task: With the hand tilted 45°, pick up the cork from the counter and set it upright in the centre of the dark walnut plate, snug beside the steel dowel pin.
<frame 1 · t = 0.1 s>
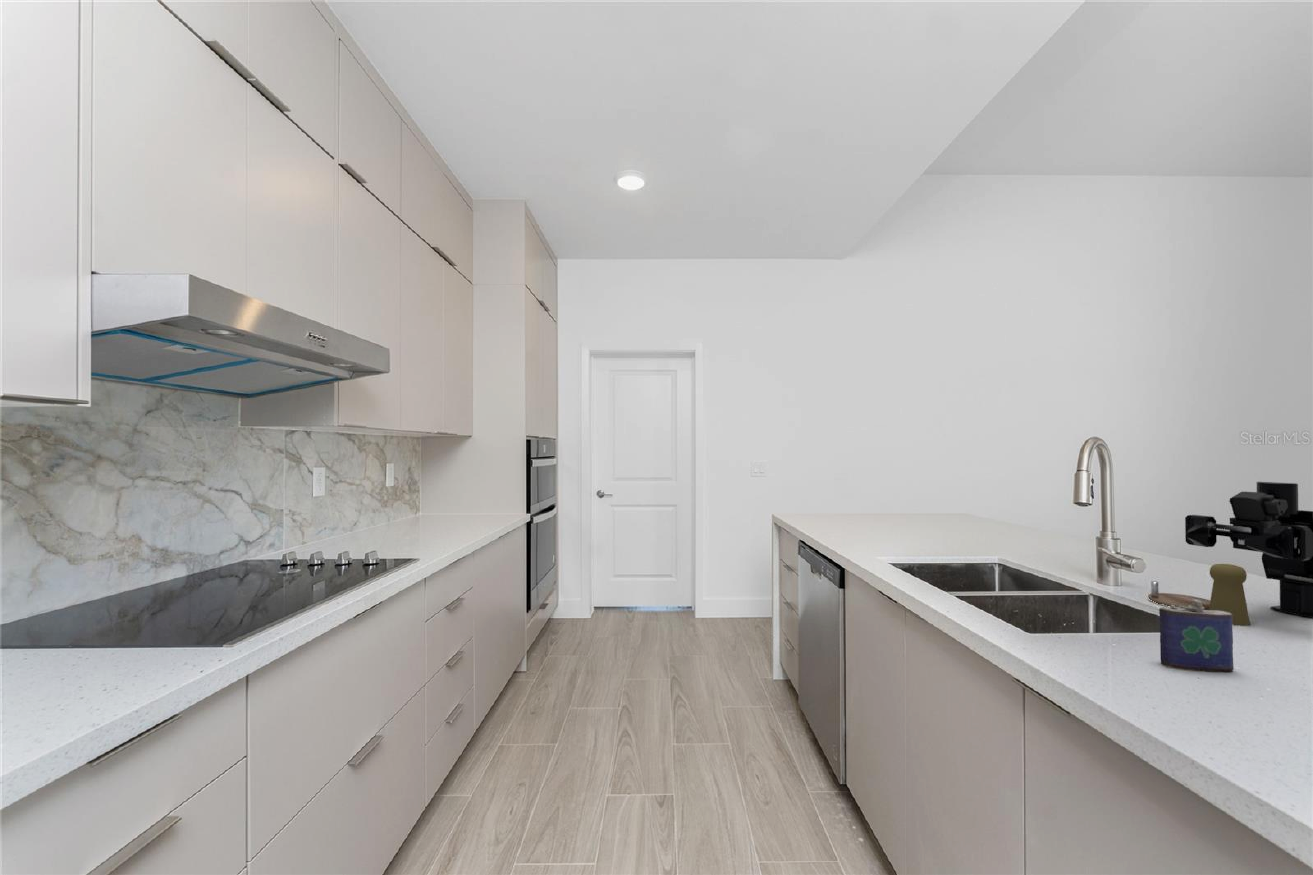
hand: (1215, 538, 111), 17 cm above the worktop, tool horizontal, fingers open, 9 cm apart
flask: (1196, 669, 91), on the worktop
cork: (1228, 621, 114), on the worktop
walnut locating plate: (1181, 603, 126), on the worktop
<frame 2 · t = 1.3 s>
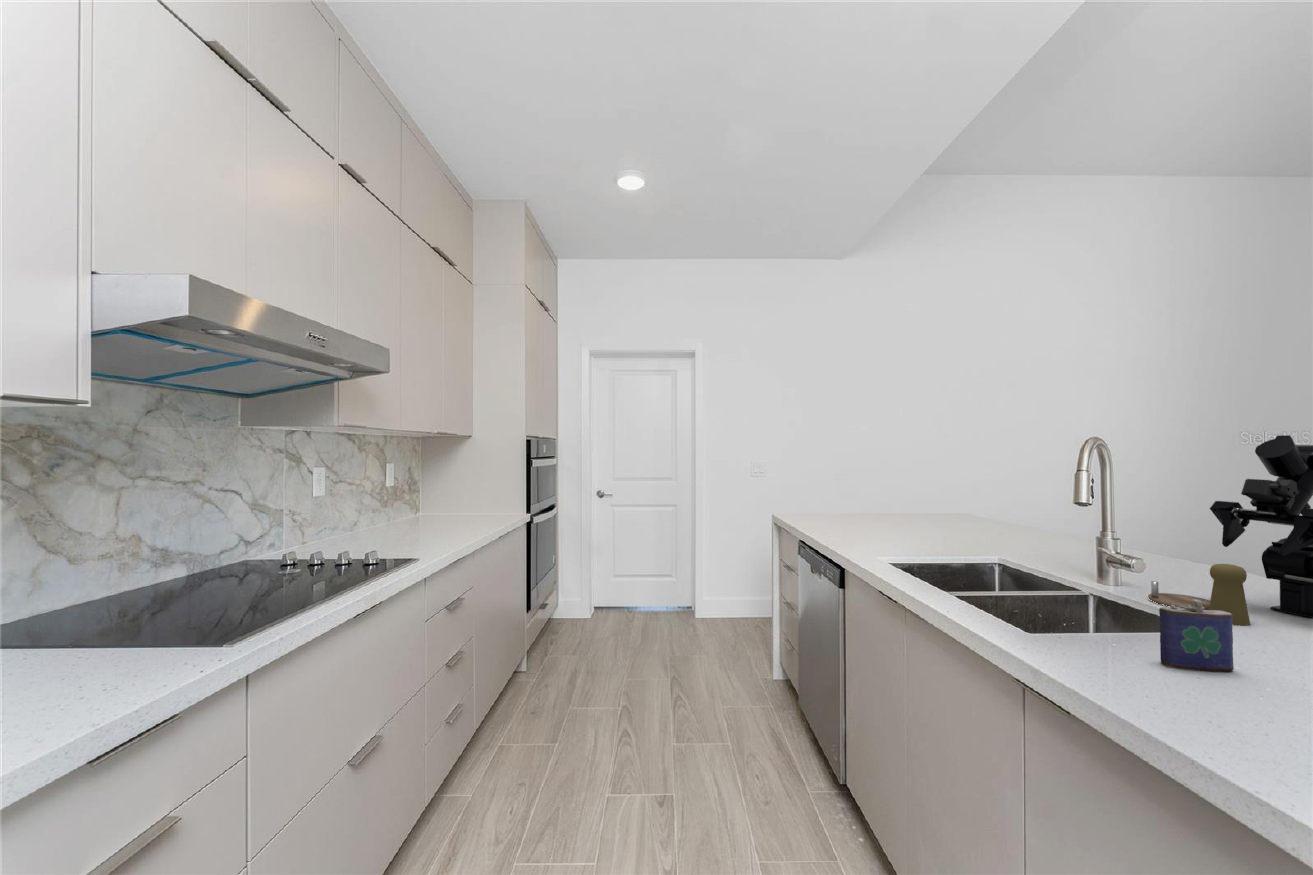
hand: (1251, 549, 115), 14 cm above the worktop, tool tilted 45°, fingers open, 9 cm apart
nothing on the worktop moved.
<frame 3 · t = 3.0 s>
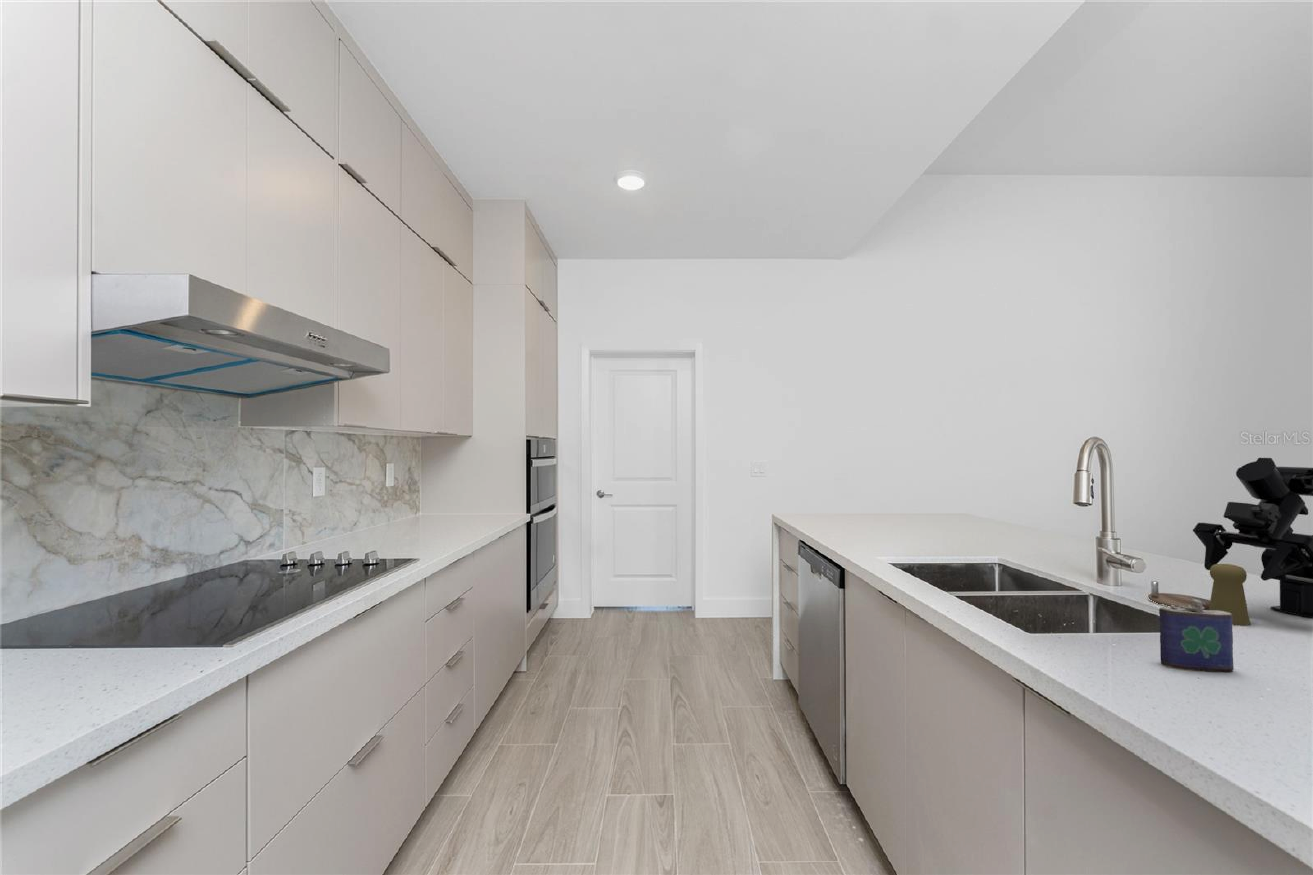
hand: (1233, 573, 114), 9 cm above the worktop, tool tilted 45°, fingers open, 9 cm apart
nothing on the worktop moved.
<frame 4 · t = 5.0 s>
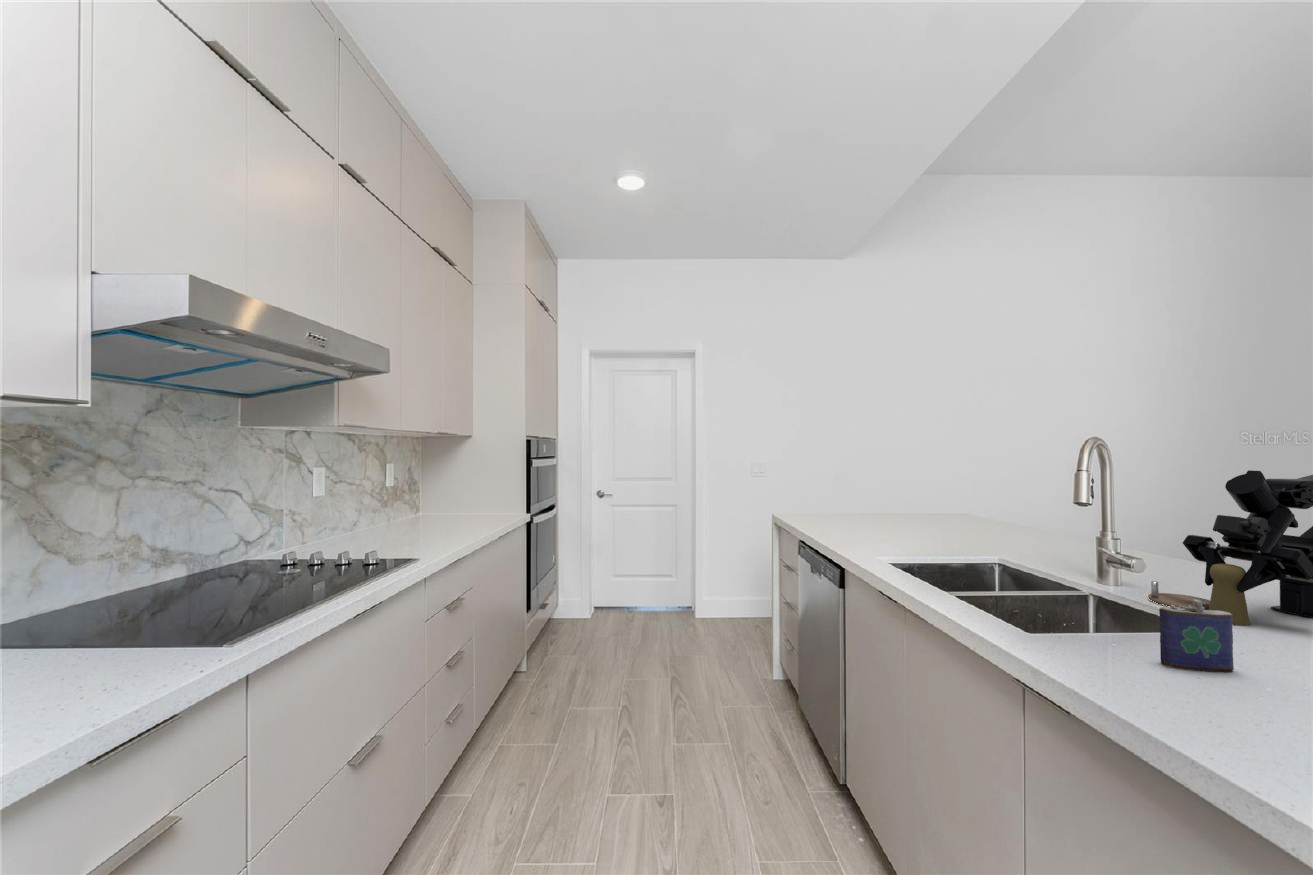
hand: (1222, 587, 113), 7 cm above the worktop, tool tilted 45°, fingers closed on cork, 5 cm apart
cork: (1228, 621, 114), on the worktop, touching gripper
everything else where it was.
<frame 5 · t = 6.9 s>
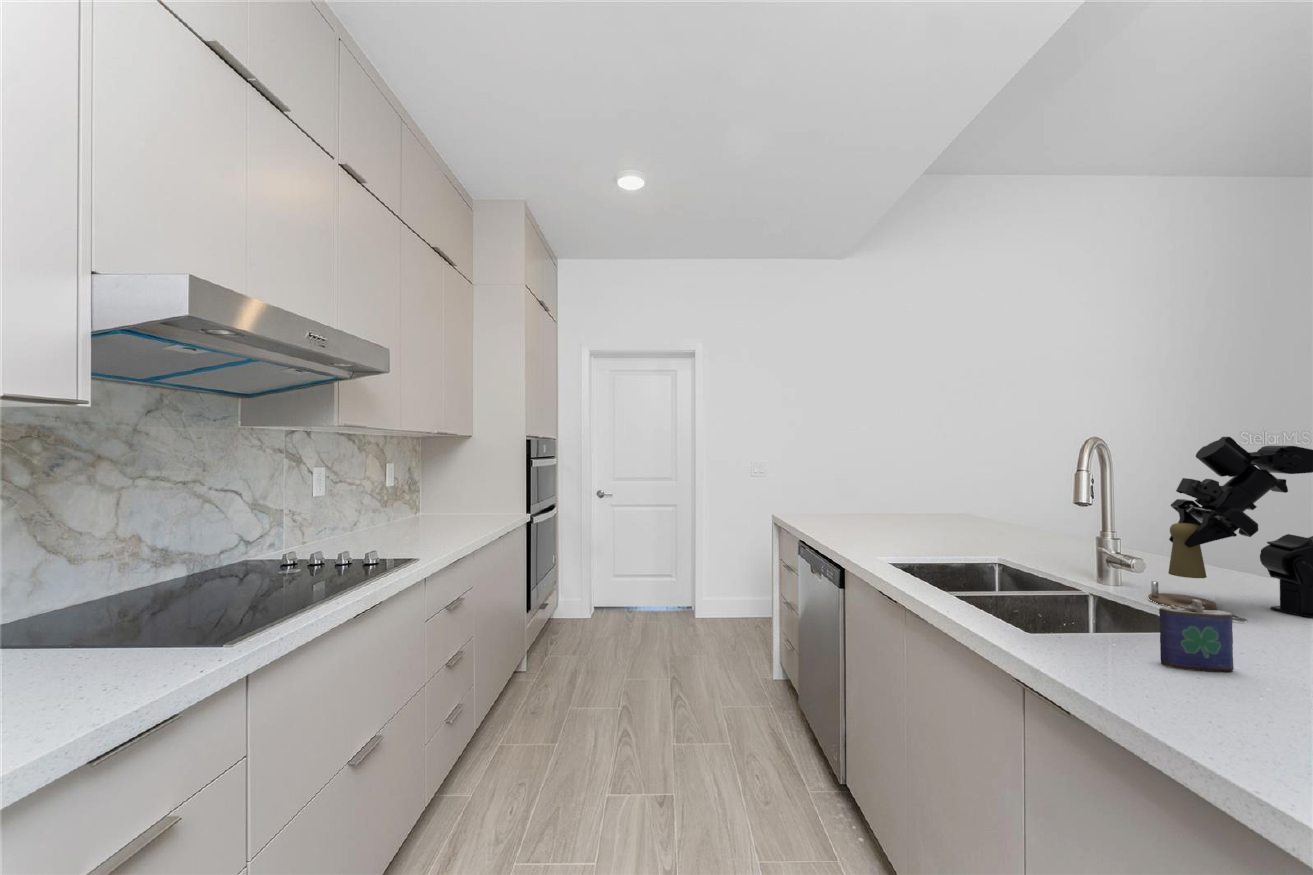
hand: (1178, 543, 124), 13 cm above the worktop, tool tilted 45°, fingers closed on cork, 5 cm apart
cork: (1187, 576, 123), point 6 cm above the worktop, touching gripper
everything else where it was.
when the fingers open (9 cm above the worktop, at t = 9.0 s): cork drops 1 cm, resting on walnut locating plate.
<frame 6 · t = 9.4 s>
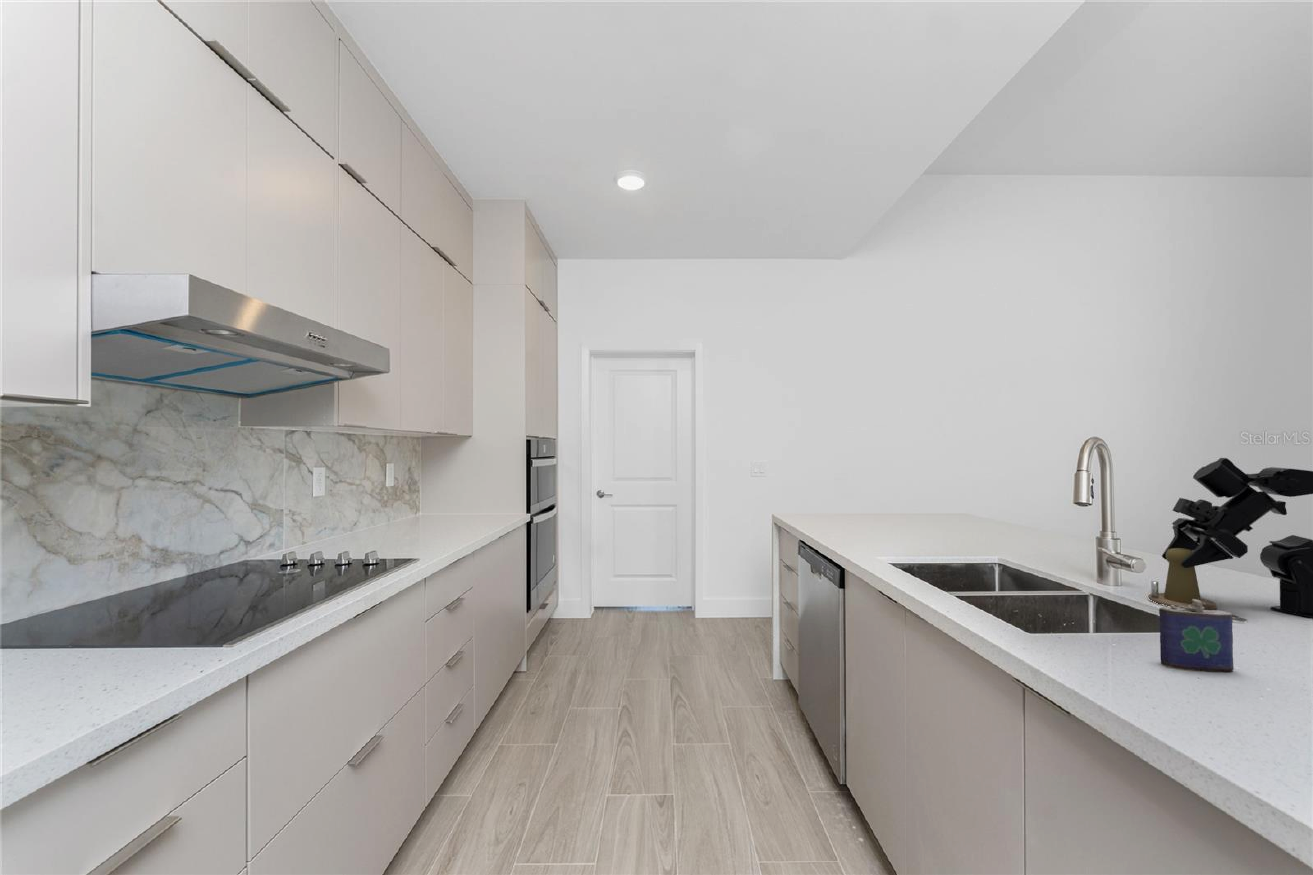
hand: (1172, 562, 126), 9 cm above the worktop, tool tilted 45°, fingers open, 9 cm apart
cork: (1182, 600, 126), point 1 cm above the worktop, touching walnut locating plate
everything else where it was.
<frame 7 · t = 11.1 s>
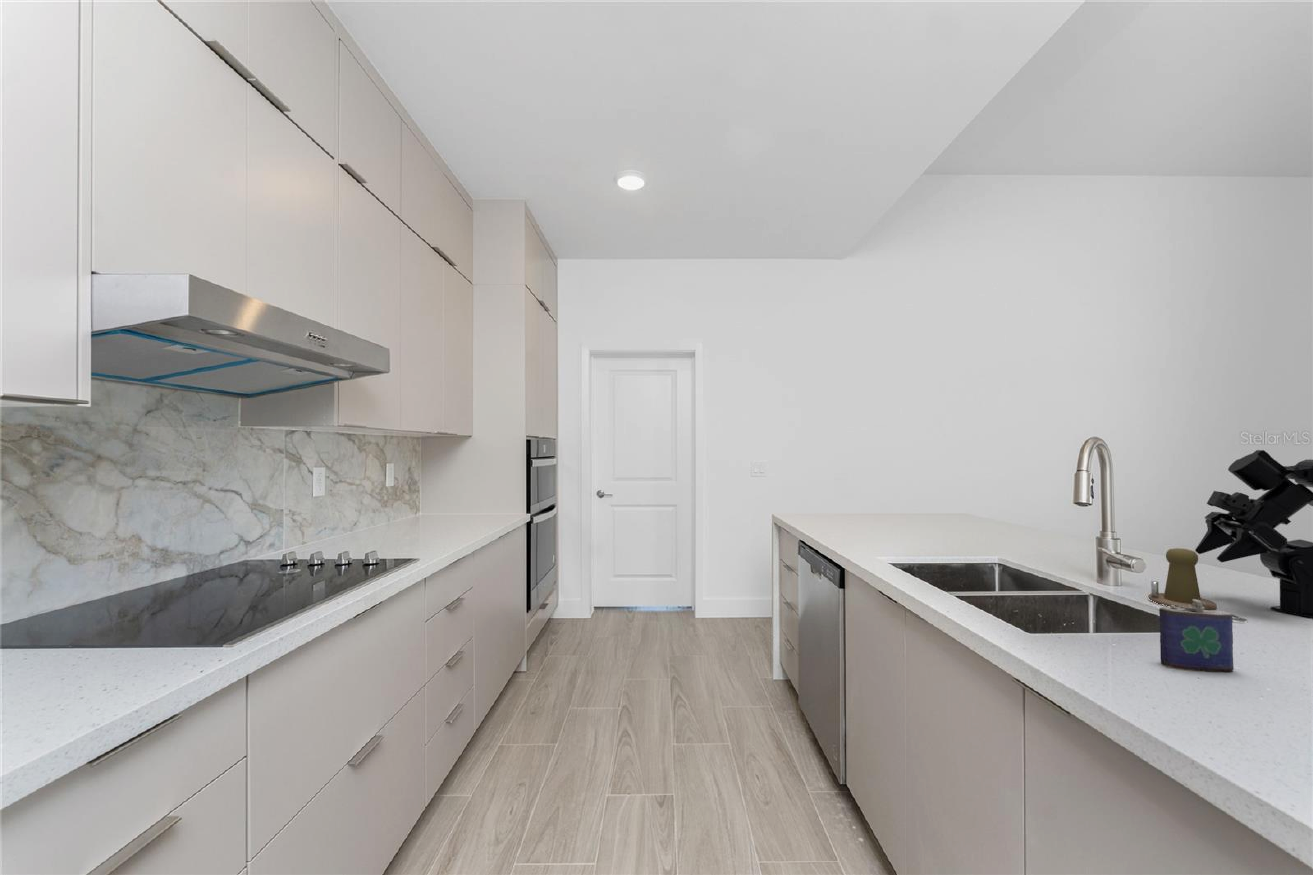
hand: (1207, 556, 124), 11 cm above the worktop, tool tilted 45°, fingers open, 9 cm apart
nothing on the worktop moved.
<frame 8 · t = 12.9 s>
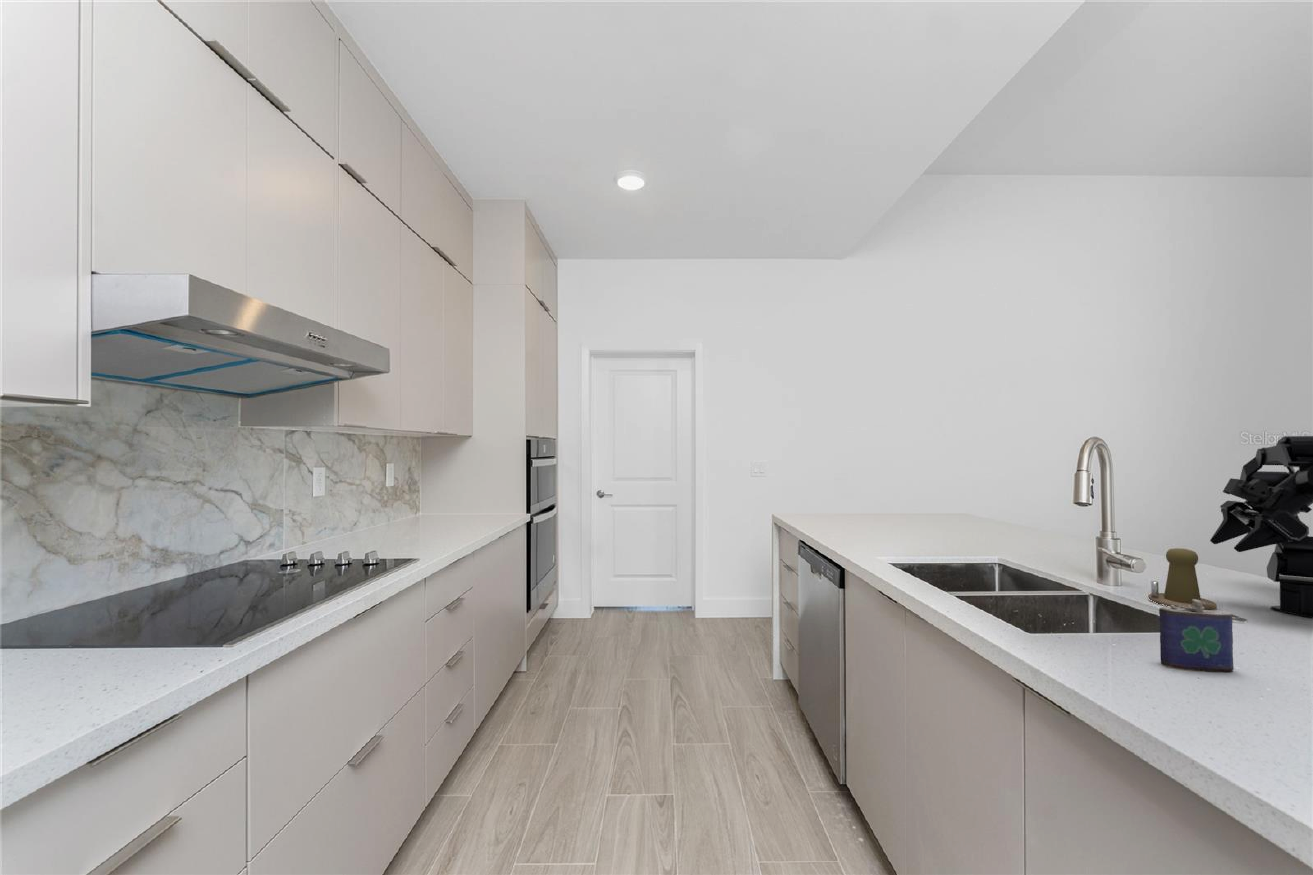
hand: (1223, 546, 119), 14 cm above the worktop, tool tilted 45°, fingers open, 9 cm apart
nothing on the worktop moved.
at the end: cork 0.1 cm off-centre on the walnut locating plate, point 0.6 cm above the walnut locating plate's base; cork tilted 0°; the gripper is holding nothing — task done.
